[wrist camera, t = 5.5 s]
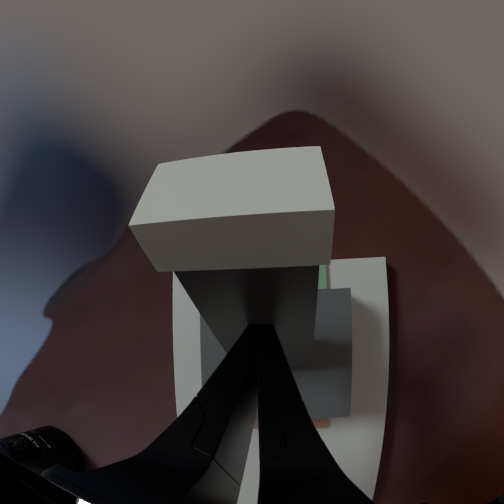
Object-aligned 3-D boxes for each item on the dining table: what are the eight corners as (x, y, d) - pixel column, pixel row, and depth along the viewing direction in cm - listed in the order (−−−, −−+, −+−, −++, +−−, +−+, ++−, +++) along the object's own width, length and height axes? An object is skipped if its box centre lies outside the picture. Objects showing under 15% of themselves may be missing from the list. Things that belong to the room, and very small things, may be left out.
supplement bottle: (63, 418, 20) (-32, 444, 8) (97, 477, 18) (16, 524, 6) (34, 429, 20) (-45, 449, 8) (64, 481, 18) (-8, 515, 7)
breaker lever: (315, 371, 12) (334, 209, 5) (231, 371, 13) (128, 225, 6) (313, 329, 14) (320, 146, 6) (234, 331, 14) (158, 163, 7)
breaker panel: (368, 499, 14) (377, 528, 10) (192, 496, 17) (173, 522, 13) (380, 260, 18) (400, 246, 14) (180, 269, 20) (152, 259, 16)
